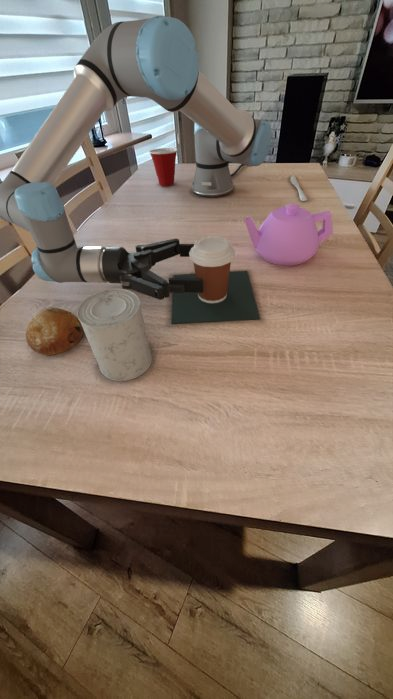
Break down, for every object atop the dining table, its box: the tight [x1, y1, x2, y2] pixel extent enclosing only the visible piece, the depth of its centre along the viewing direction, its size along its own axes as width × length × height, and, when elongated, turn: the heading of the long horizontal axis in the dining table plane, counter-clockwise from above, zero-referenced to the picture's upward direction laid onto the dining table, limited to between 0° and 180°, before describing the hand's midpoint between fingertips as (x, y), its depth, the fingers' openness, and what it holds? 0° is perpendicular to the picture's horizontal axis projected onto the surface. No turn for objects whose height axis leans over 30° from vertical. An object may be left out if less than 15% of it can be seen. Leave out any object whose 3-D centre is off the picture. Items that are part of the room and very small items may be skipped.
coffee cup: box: [189, 235, 236, 303], centre depth 63 cm, size 9×9×12 cm
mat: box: [170, 270, 261, 325], centre depth 67 cm, size 18×18×1 cm
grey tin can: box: [76, 288, 153, 382], centre depth 50 cm, size 10×10×12 cm
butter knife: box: [289, 175, 308, 202], centre depth 111 cm, size 1×27×3 cm
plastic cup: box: [148, 147, 178, 187], centre depth 117 cm, size 11×11×12 cm
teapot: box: [243, 202, 334, 267], centre depth 74 cm, size 22×16×12 cm
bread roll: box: [25, 306, 84, 356], centre depth 58 cm, size 10×10×8 cm
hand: (206, 266), depth 62 cm, fingers open, 13 cm apart
